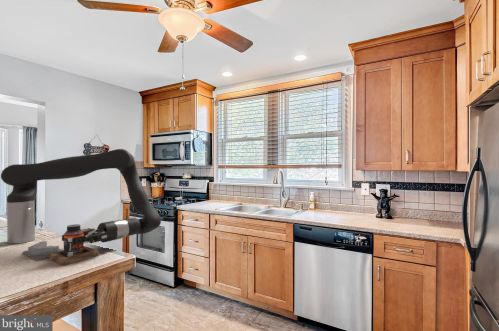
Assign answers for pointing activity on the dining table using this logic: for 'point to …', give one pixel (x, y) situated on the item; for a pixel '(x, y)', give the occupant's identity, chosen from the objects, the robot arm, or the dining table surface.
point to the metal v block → (40, 250)
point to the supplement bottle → (71, 233)
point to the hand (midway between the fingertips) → (67, 239)
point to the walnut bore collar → (64, 260)
